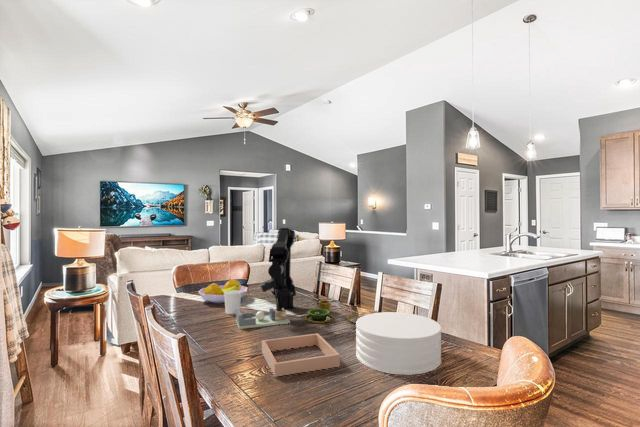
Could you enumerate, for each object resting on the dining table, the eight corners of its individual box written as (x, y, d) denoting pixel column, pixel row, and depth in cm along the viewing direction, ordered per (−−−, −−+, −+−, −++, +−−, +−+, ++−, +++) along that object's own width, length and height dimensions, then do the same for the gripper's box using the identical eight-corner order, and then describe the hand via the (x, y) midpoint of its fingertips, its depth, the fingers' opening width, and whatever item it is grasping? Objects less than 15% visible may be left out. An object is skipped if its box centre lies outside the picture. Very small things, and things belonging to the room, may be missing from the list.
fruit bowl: (195, 297, 206) (195, 277, 206) (242, 293, 218) (242, 274, 217) (201, 309, 181) (201, 287, 181) (254, 303, 192) (254, 282, 192)
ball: (264, 318, 162) (263, 309, 162) (265, 320, 159) (265, 311, 159) (255, 319, 161) (255, 310, 161) (256, 321, 157) (256, 312, 157)
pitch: (283, 315, 169) (283, 304, 169) (290, 323, 158) (289, 310, 158) (235, 320, 162) (235, 308, 162) (239, 329, 151) (239, 315, 151)
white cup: (243, 310, 179) (242, 290, 179) (237, 315, 171) (237, 294, 171) (227, 310, 180) (227, 290, 180) (221, 314, 172) (221, 293, 172)
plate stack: (426, 342, 136) (426, 311, 135) (454, 376, 108) (454, 338, 107) (352, 342, 136) (352, 312, 135) (360, 376, 108) (360, 338, 107)
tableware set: (293, 317, 169) (293, 304, 169) (339, 307, 185) (339, 295, 185) (351, 343, 136) (351, 326, 136) (401, 328, 152) (401, 314, 152)
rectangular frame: (318, 344, 133) (318, 333, 133) (339, 367, 114) (339, 354, 114) (261, 351, 126) (261, 340, 126) (274, 377, 107) (274, 364, 107)
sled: (283, 315, 166) (283, 297, 166) (286, 318, 161) (286, 300, 161) (269, 316, 164) (269, 298, 164) (271, 320, 158) (271, 301, 158)
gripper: (257, 271, 169) (257, 304, 169) (265, 278, 151) (265, 315, 151) (280, 270, 172) (281, 302, 172) (291, 276, 155) (291, 312, 155)
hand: (279, 308), depth 163 cm, fingers closed on sled, 3 cm apart
